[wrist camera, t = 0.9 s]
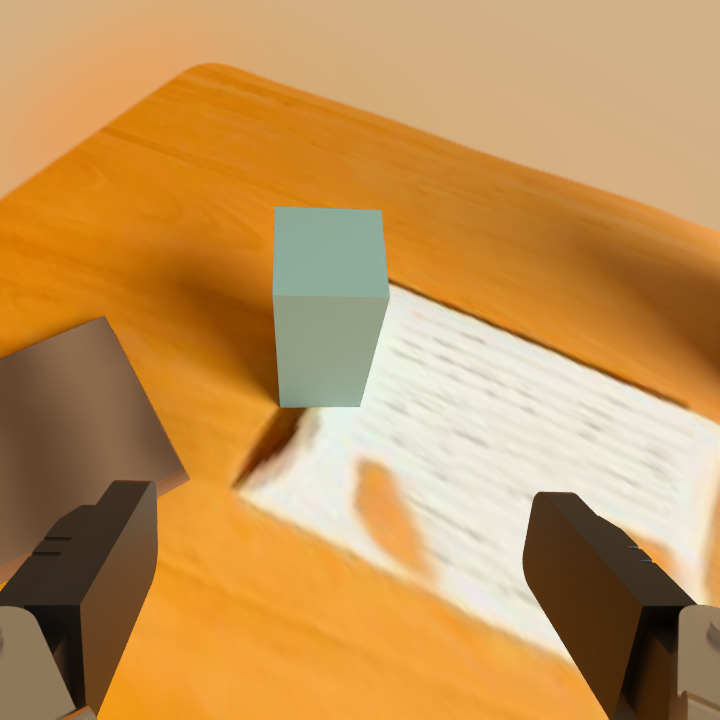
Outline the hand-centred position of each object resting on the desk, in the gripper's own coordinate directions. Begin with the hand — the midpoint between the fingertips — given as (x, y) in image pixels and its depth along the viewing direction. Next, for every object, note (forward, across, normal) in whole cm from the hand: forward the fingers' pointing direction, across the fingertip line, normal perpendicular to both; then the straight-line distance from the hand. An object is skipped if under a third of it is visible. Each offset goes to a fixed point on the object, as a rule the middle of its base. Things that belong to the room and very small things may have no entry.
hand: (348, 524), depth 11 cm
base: (+17, +13, +6) cm, 22 cm away
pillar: (+20, 0, +3) cm, 20 cm away
